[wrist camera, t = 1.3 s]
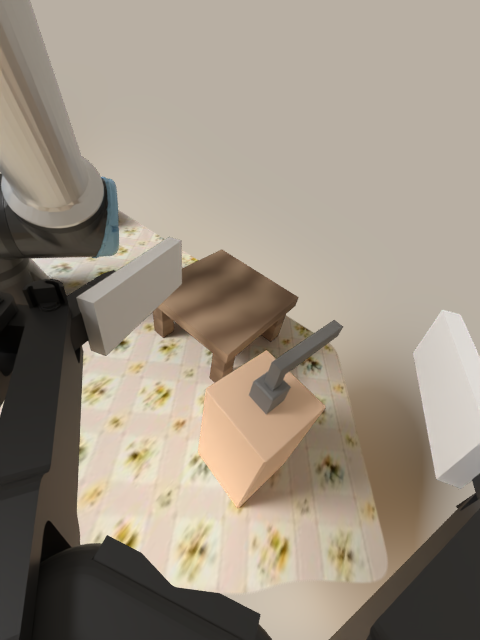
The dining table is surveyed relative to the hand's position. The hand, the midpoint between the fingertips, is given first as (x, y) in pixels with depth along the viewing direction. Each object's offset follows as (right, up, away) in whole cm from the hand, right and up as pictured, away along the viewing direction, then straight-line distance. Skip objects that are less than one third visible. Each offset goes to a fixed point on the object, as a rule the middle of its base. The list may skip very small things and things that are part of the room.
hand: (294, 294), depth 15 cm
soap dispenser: (-1, -19, +26) cm, 33 cm away
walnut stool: (-7, -4, +40) cm, 41 cm away
